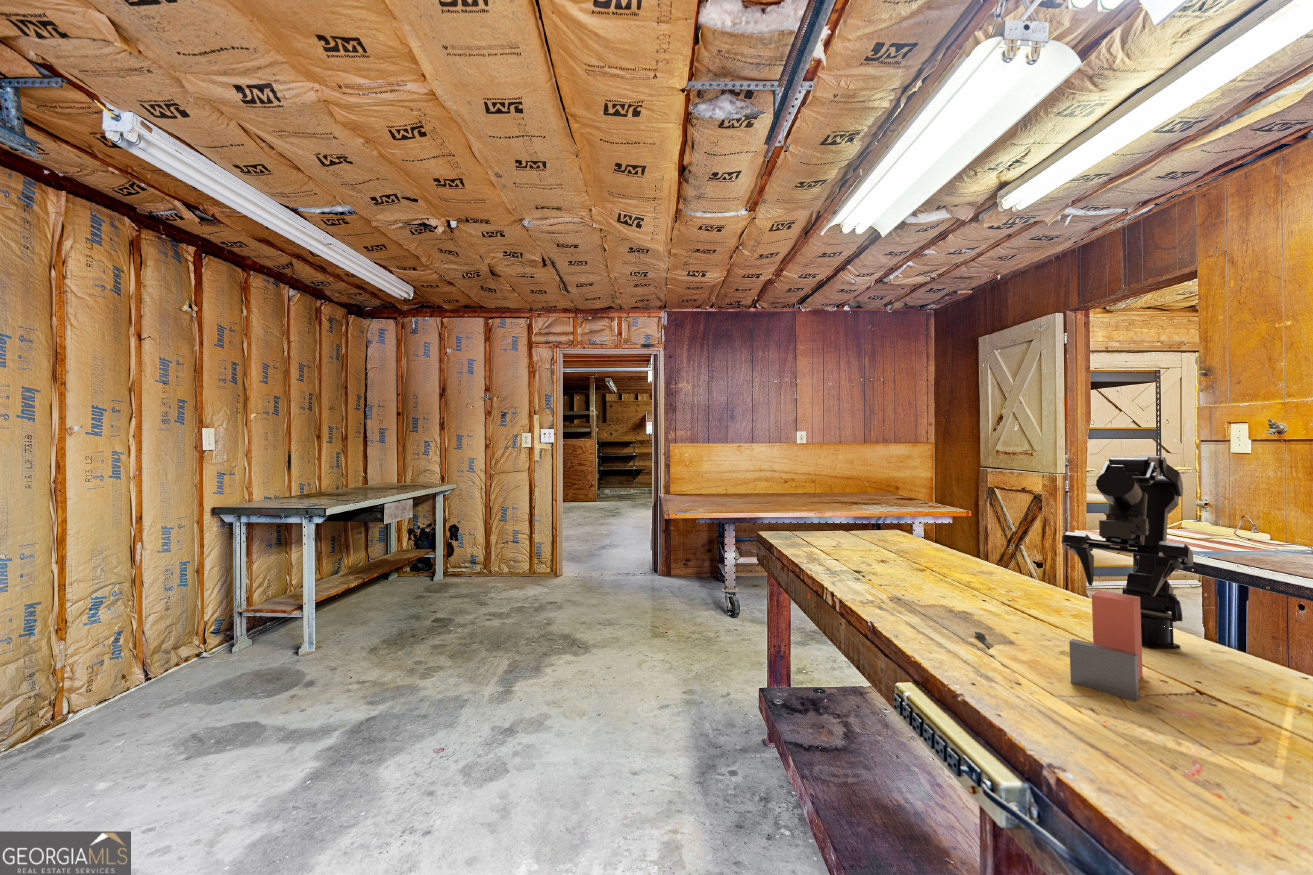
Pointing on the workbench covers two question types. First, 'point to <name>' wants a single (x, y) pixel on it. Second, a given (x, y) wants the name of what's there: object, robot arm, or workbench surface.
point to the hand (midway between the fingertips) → (1120, 590)
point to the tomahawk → (983, 640)
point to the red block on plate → (1118, 623)
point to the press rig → (1104, 669)
